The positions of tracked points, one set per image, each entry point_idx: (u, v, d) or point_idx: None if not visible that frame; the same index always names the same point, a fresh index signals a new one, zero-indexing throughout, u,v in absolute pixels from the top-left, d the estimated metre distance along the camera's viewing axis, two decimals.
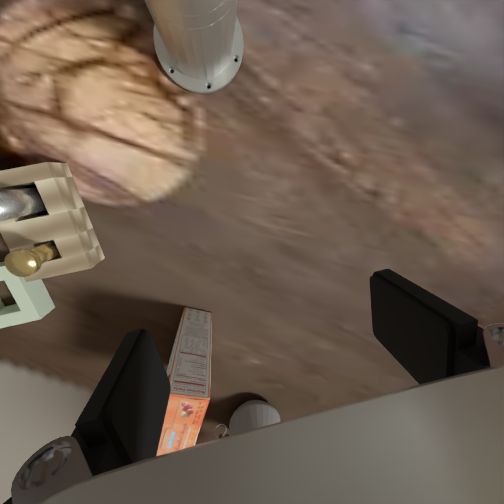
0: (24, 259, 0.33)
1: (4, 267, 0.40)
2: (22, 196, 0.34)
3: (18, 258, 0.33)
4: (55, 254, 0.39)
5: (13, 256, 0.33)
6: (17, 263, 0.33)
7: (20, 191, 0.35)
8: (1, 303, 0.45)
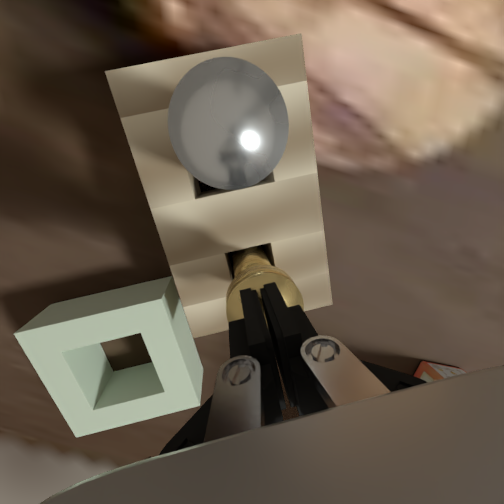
0: None
1: (145, 305, 0.18)
2: None
3: None
4: None
5: None
6: None
7: None
8: (108, 367, 0.23)
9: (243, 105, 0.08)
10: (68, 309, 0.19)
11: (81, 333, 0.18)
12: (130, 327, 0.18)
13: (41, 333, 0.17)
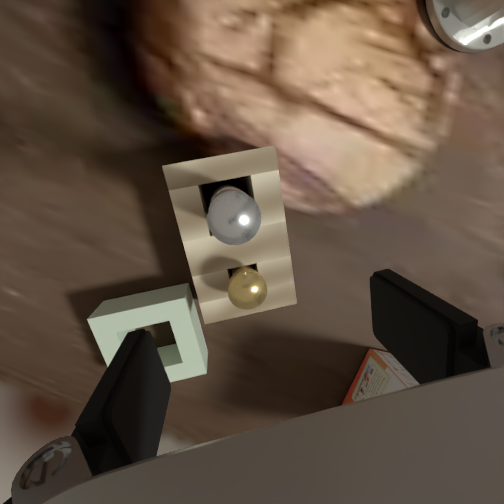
0: (255, 285, 0.23)
1: (173, 302, 0.27)
2: None
3: (248, 283, 0.23)
4: None
5: (242, 281, 0.23)
6: (244, 290, 0.23)
7: (240, 190, 0.22)
8: None
9: (241, 210, 0.17)
10: (119, 304, 0.28)
11: (130, 320, 0.27)
12: (163, 316, 0.27)
13: (104, 319, 0.26)
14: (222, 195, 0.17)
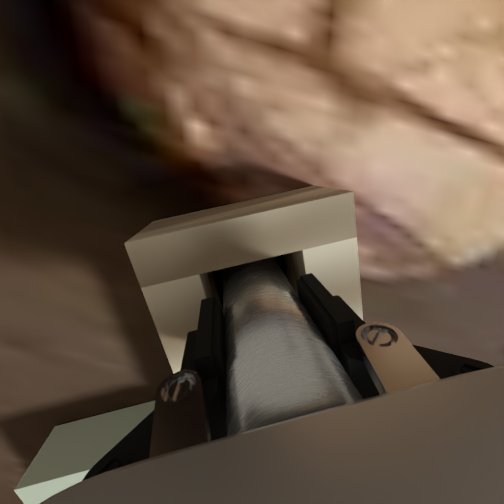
0: None
1: None
2: None
3: None
4: None
5: None
6: None
7: (287, 291, 0.11)
8: None
9: None
10: (74, 445, 0.17)
11: None
12: None
13: (45, 488, 0.15)
14: (275, 416, 0.05)
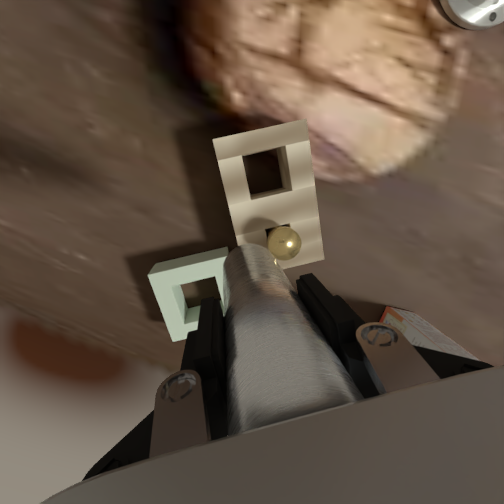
0: (291, 239, 0.28)
1: (218, 259, 0.32)
2: (308, 311, 0.10)
3: (285, 237, 0.28)
4: None
5: (280, 235, 0.27)
6: (282, 243, 0.28)
7: (288, 290, 0.11)
8: (186, 305, 0.37)
9: None
10: (171, 264, 0.33)
11: (183, 275, 0.32)
12: (210, 272, 0.32)
13: (161, 275, 0.31)
14: (277, 415, 0.05)
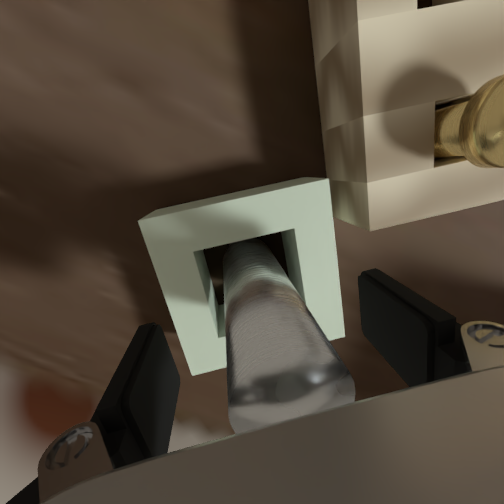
0: None
1: (307, 188, 0.13)
2: None
3: None
4: None
5: None
6: None
7: (280, 275, 0.12)
8: (215, 298, 0.19)
9: (309, 386, 0.07)
10: (191, 204, 0.15)
11: (222, 224, 0.13)
12: (284, 219, 0.14)
13: (172, 223, 0.13)
14: (265, 361, 0.07)
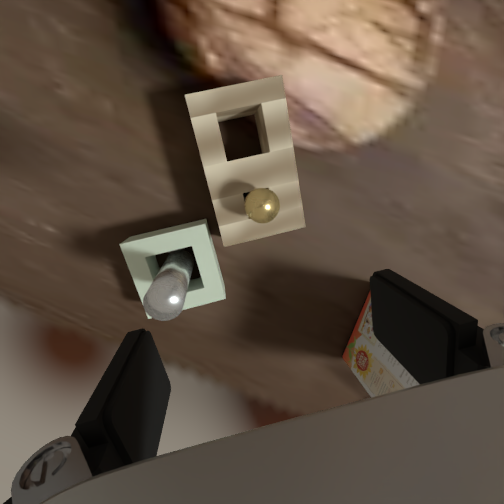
0: (269, 199, 0.26)
1: (195, 228, 0.30)
2: (185, 273, 0.28)
3: (262, 198, 0.26)
4: None
5: (257, 195, 0.26)
6: (260, 204, 0.26)
7: (179, 266, 0.28)
8: None
9: (167, 296, 0.23)
10: (145, 235, 0.31)
11: (157, 245, 0.30)
12: (186, 242, 0.30)
13: (134, 245, 0.30)
14: (152, 288, 0.23)
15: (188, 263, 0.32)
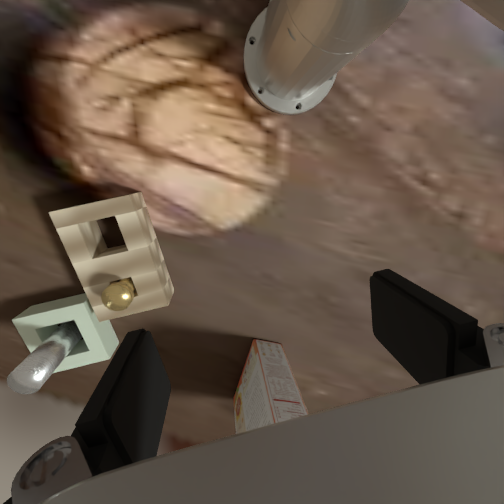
0: (120, 293, 0.33)
1: (75, 306, 0.37)
2: (59, 347, 0.35)
3: (115, 293, 0.33)
4: None
5: (110, 291, 0.33)
6: (113, 297, 0.33)
7: (56, 341, 0.35)
8: None
9: (26, 377, 0.30)
10: (39, 308, 0.38)
11: (44, 319, 0.37)
12: (69, 317, 0.37)
13: (24, 320, 0.36)
14: (13, 371, 0.30)
15: (74, 332, 0.38)
